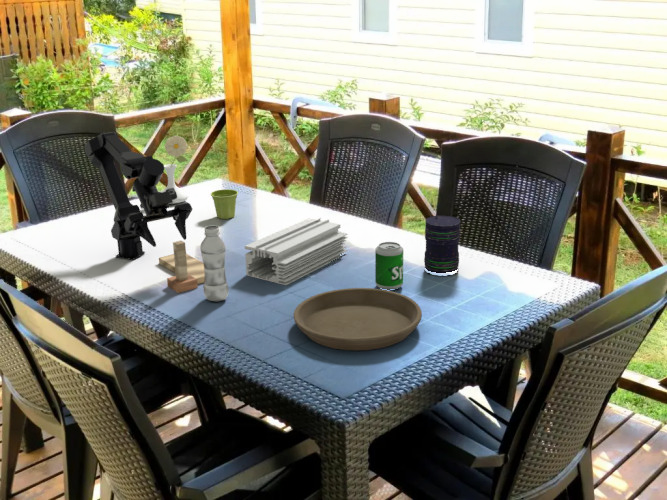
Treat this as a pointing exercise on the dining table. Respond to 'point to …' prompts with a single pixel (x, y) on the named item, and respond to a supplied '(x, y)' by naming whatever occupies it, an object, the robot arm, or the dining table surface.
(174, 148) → the flower in vase
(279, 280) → the aluminum extrusion profile
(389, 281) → the soda can
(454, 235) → the storage jar
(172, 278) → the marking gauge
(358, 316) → the plant saucer
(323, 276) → the dining table surface
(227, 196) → the plant pot
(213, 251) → the plastic bottle
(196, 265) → the board
